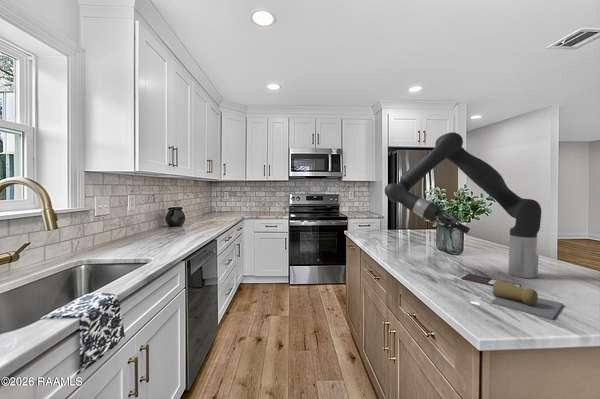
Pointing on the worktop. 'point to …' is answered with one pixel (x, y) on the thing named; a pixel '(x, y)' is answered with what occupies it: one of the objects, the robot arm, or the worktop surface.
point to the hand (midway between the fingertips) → (468, 231)
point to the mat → (532, 307)
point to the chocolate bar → (484, 280)
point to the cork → (514, 292)
